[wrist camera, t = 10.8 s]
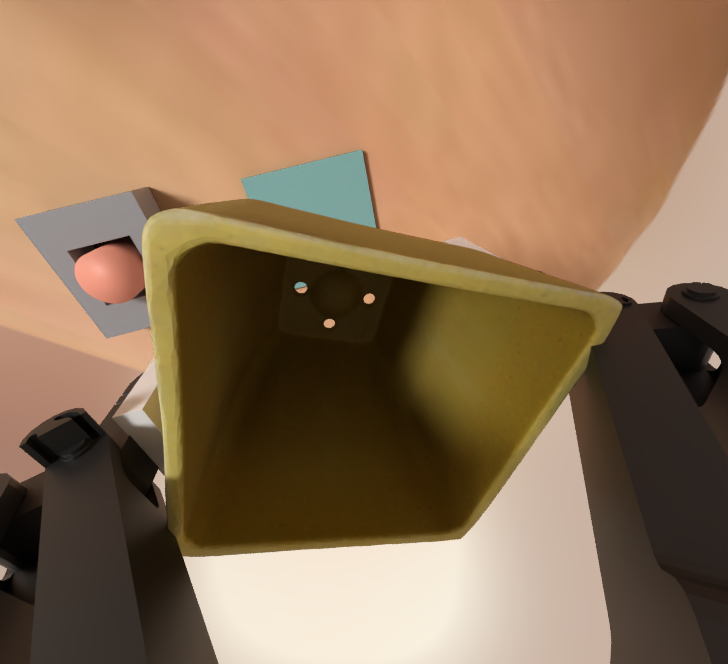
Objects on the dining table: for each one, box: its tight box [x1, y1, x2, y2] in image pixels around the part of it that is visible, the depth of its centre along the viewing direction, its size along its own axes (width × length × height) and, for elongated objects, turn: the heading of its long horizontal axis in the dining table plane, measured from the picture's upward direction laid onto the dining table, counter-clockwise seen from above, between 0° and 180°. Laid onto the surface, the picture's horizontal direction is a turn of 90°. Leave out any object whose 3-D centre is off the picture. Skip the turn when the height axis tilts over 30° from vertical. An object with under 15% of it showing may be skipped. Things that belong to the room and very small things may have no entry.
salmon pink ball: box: [74, 238, 145, 304], centre depth 25 cm, size 4×4×4 cm
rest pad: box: [241, 150, 376, 289], centre depth 28 cm, size 10×10×1 cm
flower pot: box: [142, 199, 622, 557], centre depth 11 cm, size 9×9×9 cm
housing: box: [14, 187, 161, 338], centre depth 25 cm, size 10×8×3 cm
